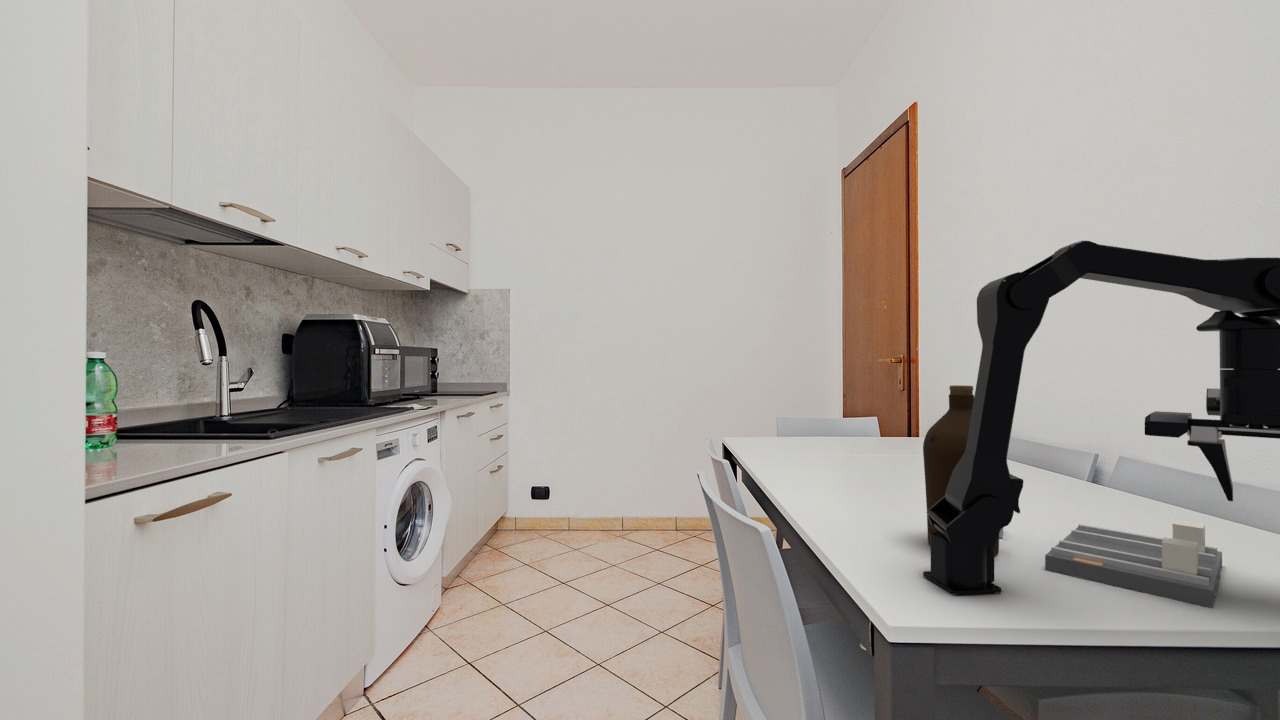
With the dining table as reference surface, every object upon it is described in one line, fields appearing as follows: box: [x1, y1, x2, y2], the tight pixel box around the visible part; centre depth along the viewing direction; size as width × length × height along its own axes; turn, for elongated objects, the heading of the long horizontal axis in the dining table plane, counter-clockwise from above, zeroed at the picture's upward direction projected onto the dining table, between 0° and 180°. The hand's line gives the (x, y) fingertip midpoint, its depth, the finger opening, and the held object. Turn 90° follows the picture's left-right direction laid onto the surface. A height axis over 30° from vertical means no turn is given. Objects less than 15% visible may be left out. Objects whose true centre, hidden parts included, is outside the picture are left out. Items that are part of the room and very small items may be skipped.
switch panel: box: [1044, 523, 1223, 609], centre depth 76 cm, size 20×16×3 cm
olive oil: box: [922, 384, 1000, 557], centre depth 85 cm, size 11×11×25 cm
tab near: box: [1162, 537, 1198, 575], centre depth 69 cm, size 3×3×4 cm
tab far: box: [1172, 519, 1206, 553], centre depth 77 cm, size 3×3×4 cm
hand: (1256, 504), depth 64 cm, fingers open, 4 cm apart
